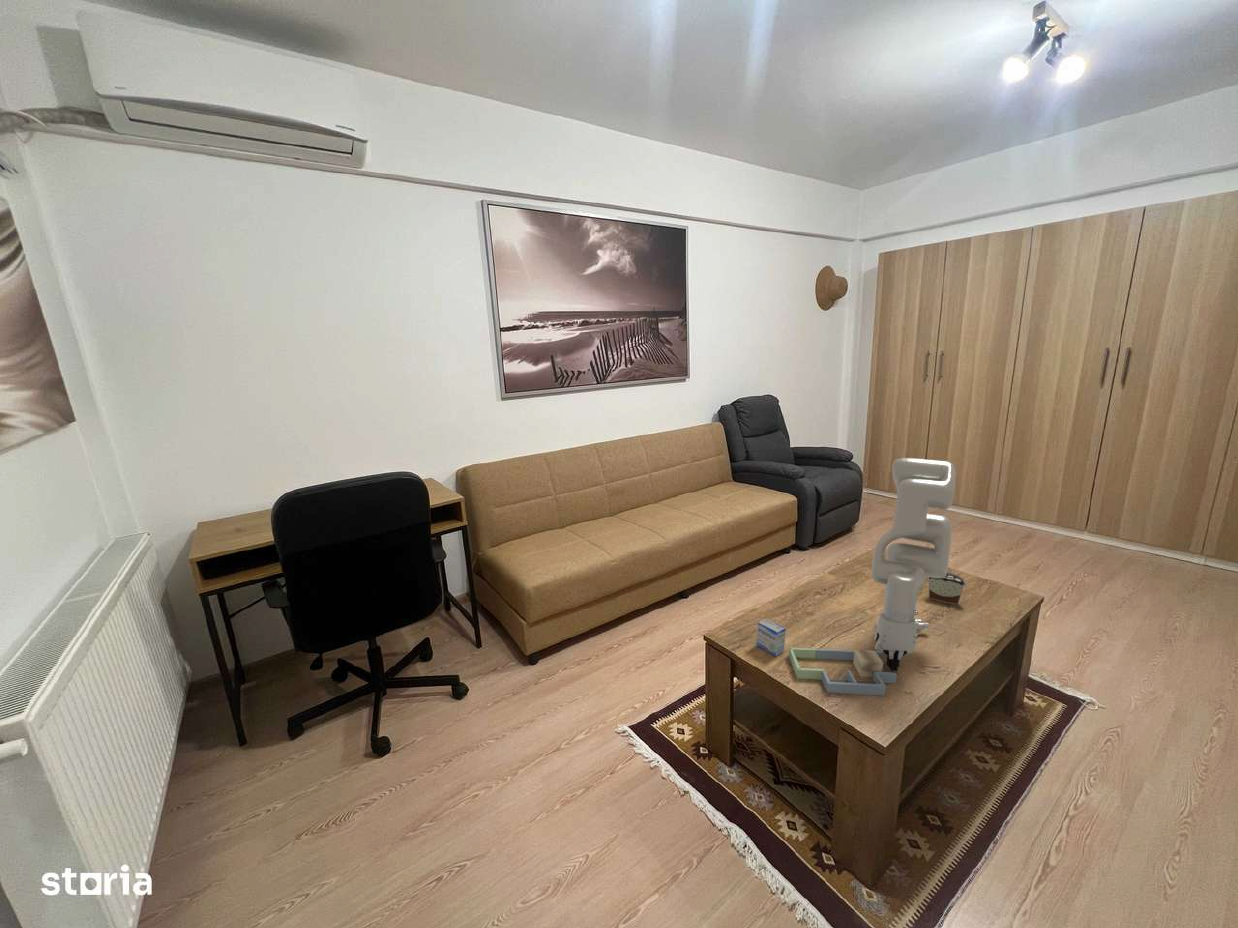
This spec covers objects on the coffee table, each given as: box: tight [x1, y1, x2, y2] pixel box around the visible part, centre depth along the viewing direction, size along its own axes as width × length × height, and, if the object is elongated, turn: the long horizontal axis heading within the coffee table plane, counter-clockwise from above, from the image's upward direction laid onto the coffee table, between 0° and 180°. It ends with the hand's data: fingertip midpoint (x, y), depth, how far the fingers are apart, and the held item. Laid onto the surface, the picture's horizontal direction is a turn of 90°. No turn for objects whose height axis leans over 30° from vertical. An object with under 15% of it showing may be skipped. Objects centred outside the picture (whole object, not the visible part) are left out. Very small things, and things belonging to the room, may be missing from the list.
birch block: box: [852, 649, 884, 678], centre depth 149 cm, size 6×6×5 cm
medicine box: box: [755, 618, 787, 657], centre depth 160 cm, size 8×4×9 cm, turn 37°
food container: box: [926, 571, 967, 606], centre depth 188 cm, size 12×6×10 cm, turn 58°
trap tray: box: [788, 647, 898, 696], centre depth 147 cm, size 28×17×3 cm, turn 84°
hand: (892, 668), depth 148 cm, fingers closed
